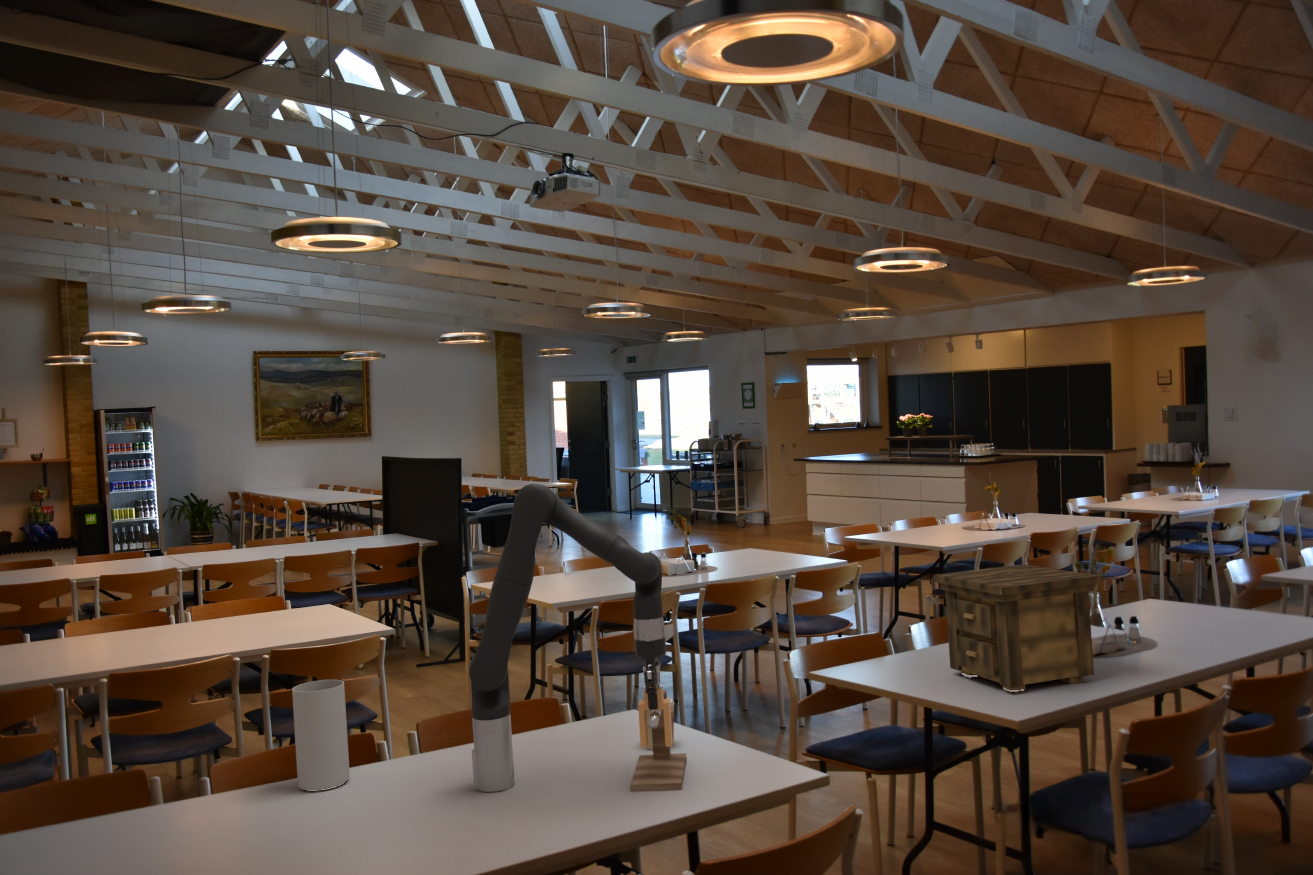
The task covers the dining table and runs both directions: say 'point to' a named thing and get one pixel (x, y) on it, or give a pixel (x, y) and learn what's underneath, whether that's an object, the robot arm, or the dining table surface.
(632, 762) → the dining table surface
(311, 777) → the cylinder vase
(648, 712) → the coffee cup
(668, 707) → the forked wooden block
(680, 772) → the hook rack
